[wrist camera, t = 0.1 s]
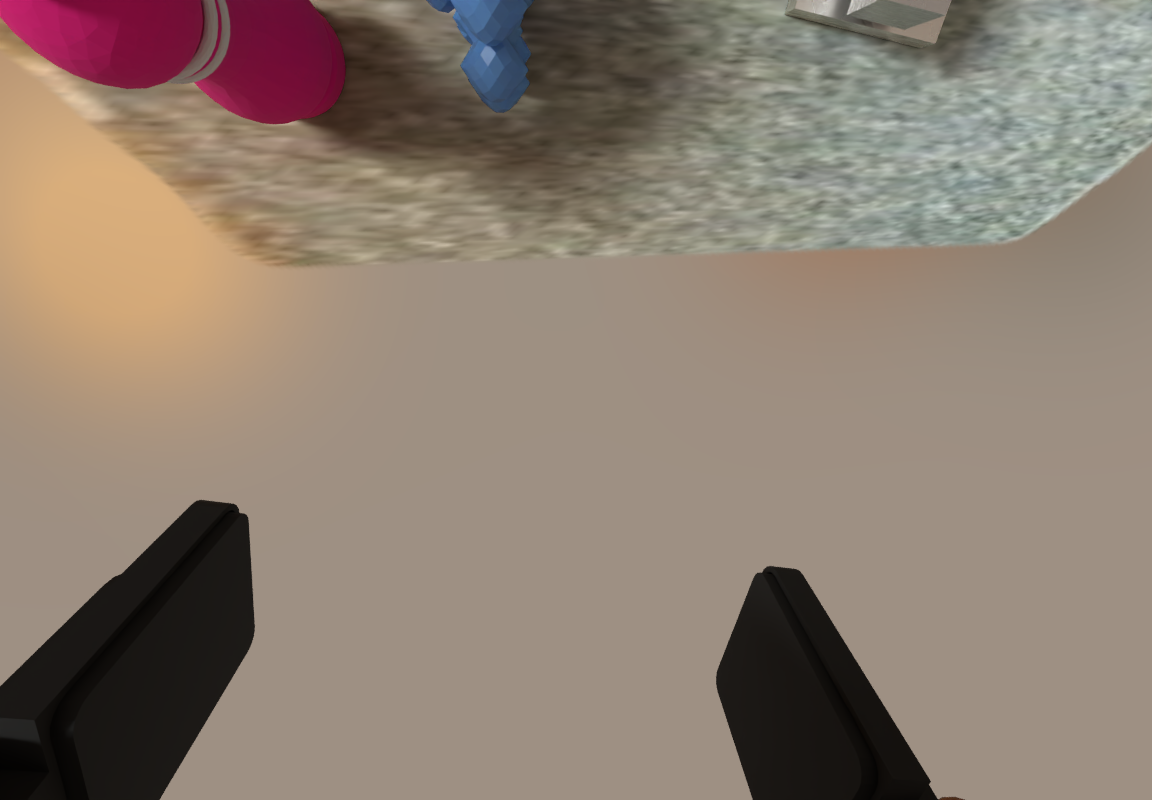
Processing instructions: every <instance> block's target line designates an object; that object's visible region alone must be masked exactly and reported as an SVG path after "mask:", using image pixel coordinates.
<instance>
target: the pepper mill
mask: <svg viewBox="0 0 1152 800" xmlns="http://www.w3.org/2000/svg"><path fill="white" fill-rule="evenodd" d="M0 17H1V18H2V19H3V21H4V22H5V23H6V24H7V25H8V27H9V28H10V29H11V30H12V31H13V32H14V33H15V34H16V35H17V36H18V37H20V38H21V39H22V40H23V41H24V42H25V43H26V44H28V45H29V46H30V47H31V48H32V49H33V50H34V51H35V52H37V53H38V54H40V55H41V56H43V57H44V58H46V59H47V60H49V61H50V62H52V63H53V64H55V65H56V66H58V67H60V68H62V69H64V70H66V71H68V72H70V73H72V74H74V75H76V76H79V77H81V78H84V79H87V80H90V81H92V82H95V83H99V84H103V85H108V86H114V87H120V88H126V89H134V88H149V87H152V86H155V85H159V84H162V83H165V82H169V83H176V84H186V83H192V82H194V83H195V84H196V85H197V86H198V87H199V88H200V89H201V90H202V91H203V92H205V93H206V94H207V95H208V96H209V97H210V98H212V99H213V100H214V101H215V102H217V103H218V104H220V105H221V106H223V107H224V108H225V109H227V110H228V111H230V112H232V113H234V114H236V115H239V116H241V117H243V118H247V119H250V120H253V121H257V122H260V123H266V124H285V123H289V122H293V121H296V120H299V119H306V118H312V117H315V116H318V115H320V114H322V113H324V112H326V111H327V110H328V109H330V108H331V107H332V106H333V104H334V103H335V102H336V101H337V99H338V97H339V95H340V94H341V91H342V88H343V85H344V82H345V72H346V67H345V59H344V53H343V50H342V47H341V44H340V42H339V40H338V37H337V35H336V33H335V31H334V30H333V28H332V27H331V25H330V24H329V23H328V21H327V20H326V19H325V18H324V17H323V16H322V15H321V14H320V13H319V12H318V11H317V10H316V9H315V8H314V6H313V5H312V3H311V2H310V1H309V0H0Z"/></svg>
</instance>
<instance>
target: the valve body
mask: <svg viewBox="0 0 1152 800" xmlns="http://www.w3.org/2000/svg"><path fill="white" fill-rule="evenodd" d="M951 1H952V0H788V4H787V7H786V11H785V15H789V16H793V17H797V18H801V19H805V20H809V21H813V22H817V23H821V24H825V25H829V26H833V27H837V28H841V29H845V30H849V31H853V32H857V33H861V34H865V35H869V36H873V37H877V38H881V39H885V40H889V41H893V42H897V43H901V44H905V45H909V46H913V47H917V48H922V47H925V46H929V45H932V44H935V43H936V41H937V38H938V35H939V33H940V30H941V27H942V25H943V22H944V19H945V17H946V14H947V11H948V9H949V6H950V4H951Z"/></svg>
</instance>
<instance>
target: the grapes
mask: <svg viewBox="0 0 1152 800" xmlns="http://www.w3.org/2000/svg"><path fill="white" fill-rule="evenodd" d="M427 1H428V2H429V4H430V5H431V6H432V7H433V8H435V9H437V10H438V11H441V12H446V13H449V12H450V11H452V10H453V9H454V8H455V9H456V12H455V14H454V16H453V18H454V20H455V21H456V23H457V25H458V26H457V27H458V28H459V30H460V31H461V33H462V34H463V36H464V37H465V38H466V40H467V41H468V42H469V43H470V44H471V45H472V46H471V47H470V50H469V52H468V53H467V55H466V57H465V58H464V60H463V62H462V64H461V65H460V66H461V68H462V69H463V71H464V72H465V74H466V75H467V77H468V78H469V79H468V80H469V82H470V83H471V85H472V86H473V88H474V89H475V91H476V92H477V94H478V95H479V97H480V98H481V100H482V101H483V102H484V103H485V104H486V105H487V106H488V107H489V108H491V109H492V110H493V111H495V112H499V113H504V112H506V111H508V110H510V109H511V108H512V107H513V106H514V105H515V104H516V103H517V102H518V100H519V99H520V98H521V96H522V95H523V93H524V92H525V90H526V89H527V87H528V86H529V84H530V83H529V81H528V79H527V78H526V76H525V75H526V74H527V72H528V68H527V66H526V65H525V63H526V61H527V60H528V58H529V57H530V55H531V52H530V51H529V49H528V47H527V45H526V43H525V42H524V40H523V39H522V37H521V36H520V35H521V34H522V32H523V30H522V28H521V27H520V25H521V23H522V19H523V18H524V17H523V14H524V13H525V11H526V9H527V8H529V7H530V6H531V4H532V3H533V1H534V0H427Z"/></svg>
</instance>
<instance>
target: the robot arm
mask: <svg viewBox="0 0 1152 800" xmlns="http://www.w3.org/2000/svg"><path fill="white" fill-rule="evenodd" d="M252 590H253V589H252V572H251V556H250V538H249V522H248V517H247V515H246V514H242V513H239V509H238V507H237V505H235V504H231V503H222V502H214V501H205V500H199V501H196V502H194V503H193V504H192V505H191V506H190V507H189V508H188V509H187V510H186V511H185V512H184V513H183V514H182V515H181V516H180V517H179V518H178V519H177V520H176V521H175V522H174V523H173V524H172V525H171V526H170V527H169V528H168V529H167V530H166V531H165V532H164V533H163V534H162V535H161V536H159V538H158V539H156V541H154V542H153V543H152V544H151V545H150V546H149V547H148V549H146V550H145V551H144V552H143V554H141V555H140V556H139V557H138V558H137V559H136V560H135V561H134V562H133V563H132V564H131V565H130V566H129V567H128V568H127V569H126V570H125V571H124V572H123V573H122V574H121V575H118V576H115V577H114V578H112V579H111V580H110V581H108V582H107V583H106V584H105V585H104V586H103V587H102V588H101V589H99V591H97V593H96V594H94V596H92V597H91V598H90V599H89V600H88V601H87V602H86V603H85V604H84V605H83V606H82V607H81V608H80V609H79V610H78V611H77V612H76V613H75V614H74V615H73V616H72V617H71V618H70V619H69V620H68V621H67V622H66V623H65V624H64V625H63V626H62V627H61V628H60V629H59V630H58V631H57V632H55V633H54V634H53V635H52V636H51V637H50V638H49V639H48V640H47V641H46V642H45V643H44V644H43V645H42V646H41V647H40V648H39V649H38V650H37V651H36V652H35V653H34V654H33V655H32V656H31V657H30V658H29V659H28V660H27V661H26V662H25V663H24V664H23V665H22V666H21V667H20V668H19V669H18V670H17V671H15V673H14V674H12V675H11V676H10V677H9V678H8V679H7V680H6V681H5V682H4V683H3V684H2V685H1V686H0V800H160V798H161V796H162V795H163V793H164V791H165V789H166V787H167V786H168V784H169V783H170V781H171V779H172V778H173V776H174V774H175V773H176V771H177V769H178V768H179V766H180V764H181V763H182V761H183V759H184V757H185V756H186V754H187V752H188V751H189V749H190V747H191V746H192V744H193V743H194V741H195V739H196V737H197V736H198V734H199V732H200V731H201V729H202V727H203V726H204V724H205V722H206V721H207V719H208V717H209V716H210V714H211V712H212V711H213V709H214V707H215V706H216V704H217V702H218V701H219V699H220V697H221V696H222V694H223V692H224V690H225V689H226V687H227V686H228V684H229V682H230V681H231V679H232V677H233V675H234V674H235V672H236V670H237V669H238V667H239V665H240V664H241V662H242V660H243V659H244V657H245V655H246V654H247V652H248V650H249V648H250V646H251V643H252V640H253V637H254V631H255V630H254V628H255V624H254V607H253V591H252ZM716 685H717V690H718V694H719V697H720V700H721V703H722V706H723V709H724V712H725V716H726V719H727V722H728V725H729V728H730V731H731V734H732V737H733V740H734V743H735V746H736V749H737V752H738V755H739V758H740V762H741V765H742V768H743V771H744V774H745V777H746V780H747V783H748V786H749V789H750V792H751V795H752V798H753V800H964V799H961V798H957V797H942V798H940V799H937V797H936V796H935V794H934V793H933V791H932V789H931V787H930V786H929V783H930V782H931V781H930V779H929V778H928V776H927V775H926V773H925V771H924V770H923V768H922V766H921V765H920V763H919V762H918V760H917V758H916V757H915V755H914V754H913V752H912V750H911V749H910V747H909V745H908V744H907V742H906V741H905V739H904V737H903V736H902V734H901V733H900V731H899V729H898V728H897V726H896V725H895V723H894V721H893V720H892V718H891V716H890V715H889V713H888V712H887V710H886V708H885V707H884V705H883V704H882V702H881V700H880V699H879V697H878V695H877V694H876V692H875V690H874V689H873V688H872V686H871V684H870V683H869V681H868V679H867V678H866V676H865V674H864V673H863V671H862V670H861V668H860V666H859V665H858V663H857V662H856V660H855V659H854V657H853V655H852V653H851V652H850V650H849V649H848V647H847V645H846V644H845V642H844V640H843V639H842V637H841V636H840V634H839V632H838V631H837V629H836V628H835V626H834V624H833V623H832V621H831V620H830V618H829V616H828V615H827V613H826V611H825V610H824V608H823V607H822V605H821V603H820V602H819V600H818V598H817V597H816V595H815V594H814V592H813V590H812V589H811V587H810V586H809V584H808V582H807V581H806V579H805V578H804V576H803V574H802V573H801V572H800V571H799V570H797V569H791V568H781V567H774V566H769V567H766V568H765V569H764V570H763V572H762V573H757V574H756V575H755V576H754V578H753V581H752V583H751V586H750V588H749V591H748V594H747V596H746V599H745V601H744V604H743V607H742V609H741V611H740V614H739V617H738V620H737V622H736V624H735V627H734V629H733V632H732V634H731V637H730V640H729V642H728V645H727V647H726V650H725V652H724V655H723V657H722V660H721V662H720V665H719V668H718V670H717V676H716Z"/></svg>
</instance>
